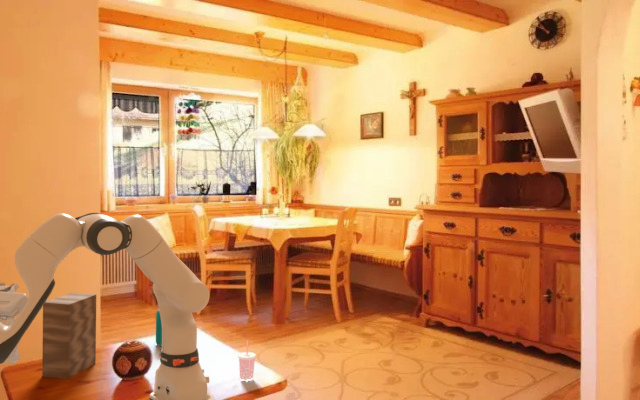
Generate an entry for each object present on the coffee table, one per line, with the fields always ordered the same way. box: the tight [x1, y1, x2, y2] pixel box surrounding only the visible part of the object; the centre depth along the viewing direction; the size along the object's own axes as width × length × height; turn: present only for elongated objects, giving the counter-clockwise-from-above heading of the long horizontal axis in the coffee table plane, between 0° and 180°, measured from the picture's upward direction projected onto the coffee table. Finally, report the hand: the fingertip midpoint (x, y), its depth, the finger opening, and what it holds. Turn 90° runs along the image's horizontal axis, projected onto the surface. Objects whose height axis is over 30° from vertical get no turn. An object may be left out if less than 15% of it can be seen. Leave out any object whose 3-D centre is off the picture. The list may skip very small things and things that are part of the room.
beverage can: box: [155, 308, 162, 347], centre depth 222 cm, size 6×6×15 cm
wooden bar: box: [0, 285, 20, 365], centre depth 160 cm, size 24×3×3 cm
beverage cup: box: [238, 340, 257, 380], centre depth 186 cm, size 6×6×14 cm
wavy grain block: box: [41, 292, 97, 380], centre depth 190 cm, size 16×10×26 cm, turn 171°
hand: (9, 284), depth 160 cm, fingers closed on wooden bar, 3 cm apart
